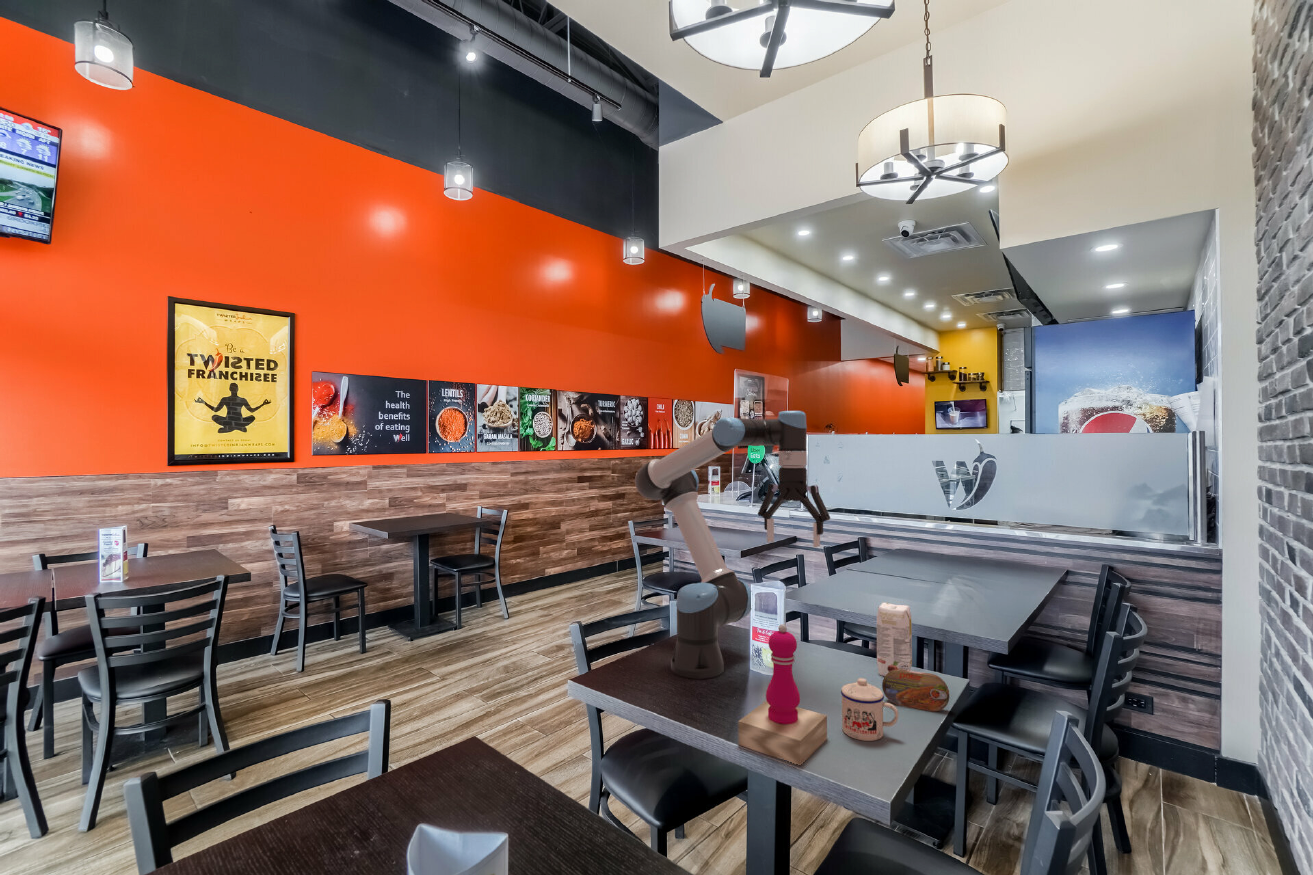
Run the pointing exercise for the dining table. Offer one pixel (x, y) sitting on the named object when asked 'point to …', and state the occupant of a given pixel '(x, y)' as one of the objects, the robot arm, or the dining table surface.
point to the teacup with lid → (864, 711)
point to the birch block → (783, 734)
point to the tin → (916, 690)
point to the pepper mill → (782, 678)
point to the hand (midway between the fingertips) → (793, 544)
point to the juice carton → (894, 638)
